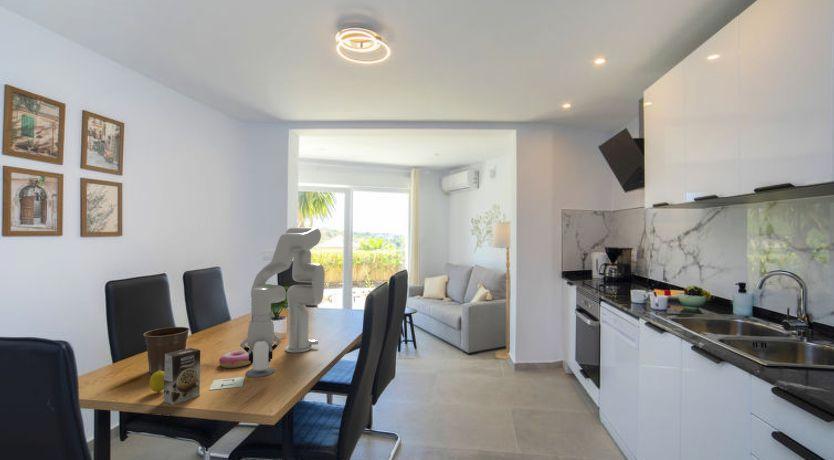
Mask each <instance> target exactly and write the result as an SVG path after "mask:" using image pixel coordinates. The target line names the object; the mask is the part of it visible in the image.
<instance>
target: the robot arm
mask: <svg viewBox="0 0 834 460" xmlns="http://www.w3.org/2000/svg"><path fill="white" fill-rule="evenodd" d="M321 238H322V233H321V231H320V229H319V228H317V227H303V226H301V227H300V226H299V227H298V226H297V227H294V226H293V227H290V228H288V229H287V230H286V232H285V233H282V234H281V235H280V236H279V238H278V241H277V243H276V247H275V250H274V252H273V256H272V257H271V260H270V262H269V263H268V264H267V265H264V267H263V268H262V269H261V270H260V271H259V272H257V274H256V276H255V278H254V279H253V280H254V281H253V283H252V287H251V290H250V298H251V304H250V306H251V307H250V309H251V311H250V314H251V315H250V321H249V323H248V327H247V328H248V329H247V337H246V338H244V340H242V342H241V343H240V344H239V346H240V347H241V348H242V349H243V350H245V351H246V352H248V354H249V361H250V364H252V363H253V347H254V345H255V343H256V342H257V341H264V340H265V342H266V343H267V344H268V346H269V363H271V360H273V351H275V349H276V348H277V347H278V346H279V345H280V344H281V343H282V340H281V339H279V338H278V337H277V336H276V335H275V327H274V326H275V325H274V321H273V320H274V319H273V318H275V314H273V313H272V304H276V303H280V302H282V301H284V300H285V298H286V299H287V305H288V306H287V307H288V339H287V340H288V343H287V344H288V345H287V346H285V347H284V351H285V352H287V353H294V354H295V353H297V354H298V353H304V352H309V351H310V350H312V345H314V346H316V345H319V340H315V339H310V338H309V334H310V333H309V332H310V330H309V329H310V327H309V326H310V324H309V323H310V320H309V319H310V312H309V310H308V307H307V306H317V305H320V304H321V303H322V302H323V298H324V290H325V277H326V276H325V275H326V273H325V267H324V266H323V264H321V263H319V262H317V263H315V262H312V252H311V250H312V249H313V248H314V247H315V246H317V245H319V243H320V241H321ZM291 266H292V270H291V271H292V273H291V276H292V280H293V281H295V282H298V283H311V284H293V285H291V286H289V287H288V289H287V291H286V288H285V287H284V286H283V285H279V284H267V281H268V280H269V279H271V278H272V277H274V276H276V275H277V274H281V273H282V272H284V271H287V270H288V269H290V267H291ZM246 344H247V345H246ZM250 364H249V365H250Z"/></svg>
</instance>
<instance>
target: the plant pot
mask: <svg viewBox="0 0 834 460" xmlns="http://www.w3.org/2000/svg"><path fill="white" fill-rule="evenodd" d="M190 330H191V329H190V328H189V327H185V326H171V327H170V326H169V327H163V328H162V327H161V328H156V329H153V330H148V331H146V332H144V333H143V334H142V335H143V337H144V342H145V345H146V351H147V360H148V362H147V363H148V371H149V374H151V375H153V374H154V373H155V372H157V371H158V370H161V371H164V372H165V354H166V353H170V352H175V351H179V350H184V349H187V340H188V337H189V331H190Z"/></svg>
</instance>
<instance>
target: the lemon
mask: <svg viewBox="0 0 834 460" xmlns="http://www.w3.org/2000/svg"><path fill="white" fill-rule="evenodd" d="M149 388H150V389H151V391H153V392H155V393H157V394H160V393H161V392H162V391H164V371H161V370H158V371H157V372H155V373H154V374H151V376H150V379H149Z"/></svg>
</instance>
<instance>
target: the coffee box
mask: <svg viewBox="0 0 834 460" xmlns="http://www.w3.org/2000/svg"><path fill="white" fill-rule="evenodd" d="M200 381H201V350H200V349H198V348H194V347H189V348H186V349H184V350H179V351H175V352H170V353H166V354H165V372H164V390H163V401H164V402H165V403H168V404H169V405H172V406H173V405H177V404H179V403H180V404H181V403H183V402H186V401H189V400H192V399H194V398H198V397H200V395H201V394H200V391H201V390H200V387H201V386H200V385H201V384H200V383H201V382H200Z"/></svg>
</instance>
